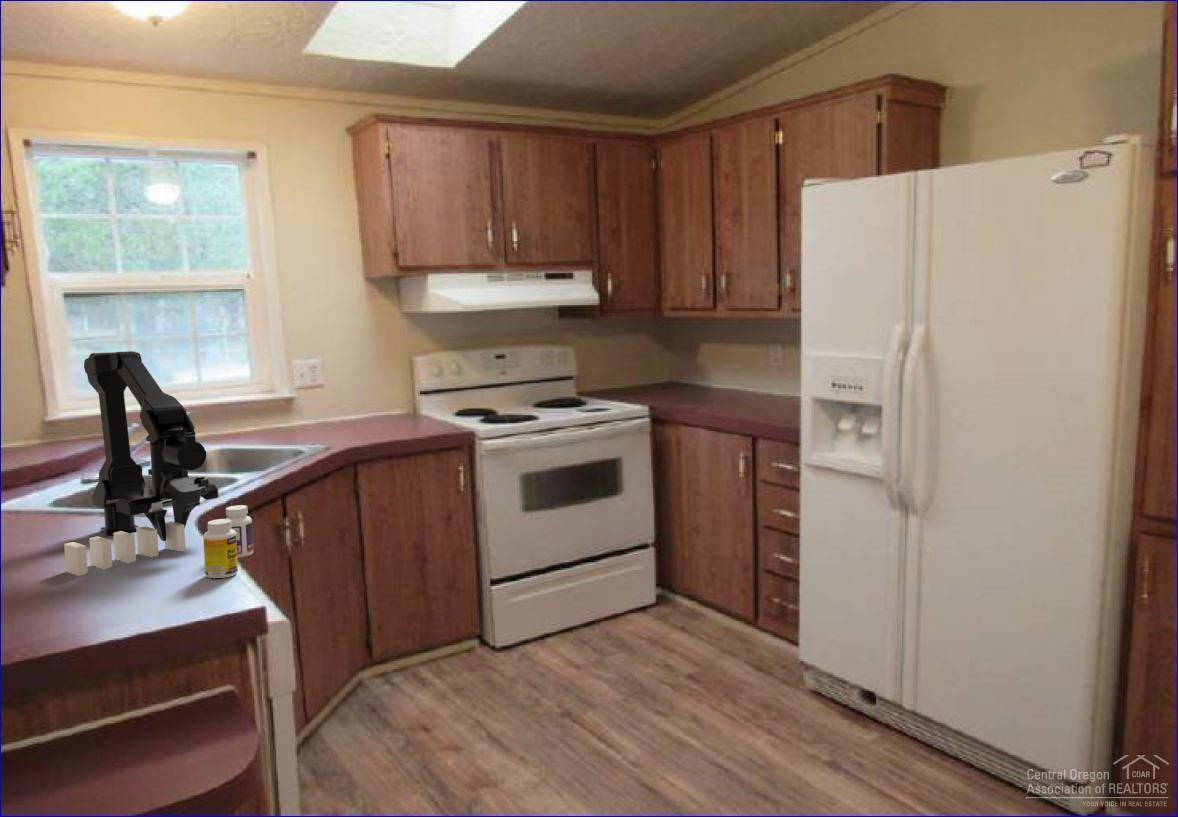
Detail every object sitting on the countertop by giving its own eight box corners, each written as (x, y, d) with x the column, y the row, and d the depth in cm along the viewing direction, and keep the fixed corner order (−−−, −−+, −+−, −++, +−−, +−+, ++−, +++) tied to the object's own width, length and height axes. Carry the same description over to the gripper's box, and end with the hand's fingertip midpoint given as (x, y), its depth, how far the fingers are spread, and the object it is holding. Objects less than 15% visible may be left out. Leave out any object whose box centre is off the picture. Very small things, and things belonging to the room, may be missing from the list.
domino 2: (103, 569, 153) (101, 541, 153) (91, 565, 156) (89, 538, 155) (112, 567, 155) (110, 539, 154) (99, 563, 157) (97, 536, 156)
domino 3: (127, 563, 157) (126, 536, 156) (115, 559, 159) (113, 532, 159) (136, 561, 158) (134, 534, 158) (123, 557, 161) (121, 531, 160)
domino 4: (150, 557, 161) (149, 531, 160) (138, 553, 163) (136, 527, 163) (158, 555, 162) (156, 529, 162) (145, 551, 165) (144, 526, 164)
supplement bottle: (231, 579, 148) (228, 525, 146) (200, 580, 147) (197, 525, 146) (242, 570, 153) (240, 517, 152) (212, 570, 153) (209, 517, 152)
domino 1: (78, 576, 149) (76, 547, 149) (66, 571, 152) (63, 543, 151) (87, 573, 151) (85, 545, 150) (75, 569, 153) (73, 541, 153)
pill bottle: (245, 549, 167) (242, 502, 165) (258, 554, 163) (256, 506, 162) (219, 555, 162) (216, 507, 161) (232, 560, 159) (230, 512, 158)
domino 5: (178, 552, 164) (176, 526, 164) (165, 548, 167) (163, 523, 166) (185, 550, 166) (184, 524, 165) (172, 546, 168) (171, 521, 168)
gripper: (143, 476, 153) (148, 556, 155) (232, 461, 168) (236, 534, 170) (112, 470, 159) (117, 547, 160) (201, 456, 174) (204, 526, 176)
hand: (171, 538), depth 167 cm, fingers open, 3 cm apart
